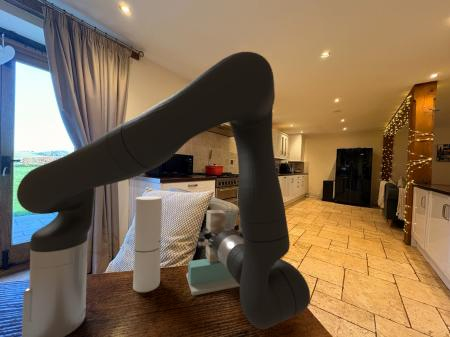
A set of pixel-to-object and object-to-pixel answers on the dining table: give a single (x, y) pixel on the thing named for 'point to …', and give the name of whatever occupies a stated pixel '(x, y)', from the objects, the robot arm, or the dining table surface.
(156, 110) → the robot arm
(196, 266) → the stand
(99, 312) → the dining table surface
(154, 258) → the cylindrical container
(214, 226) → the ash post
